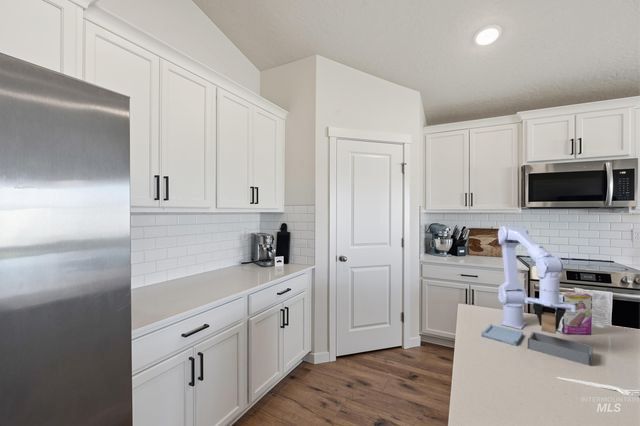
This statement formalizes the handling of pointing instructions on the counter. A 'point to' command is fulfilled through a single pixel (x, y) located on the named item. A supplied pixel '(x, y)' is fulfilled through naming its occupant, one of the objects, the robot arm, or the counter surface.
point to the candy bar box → (576, 314)
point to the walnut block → (549, 322)
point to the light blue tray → (502, 334)
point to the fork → (602, 386)
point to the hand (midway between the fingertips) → (549, 326)
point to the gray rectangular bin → (561, 348)
